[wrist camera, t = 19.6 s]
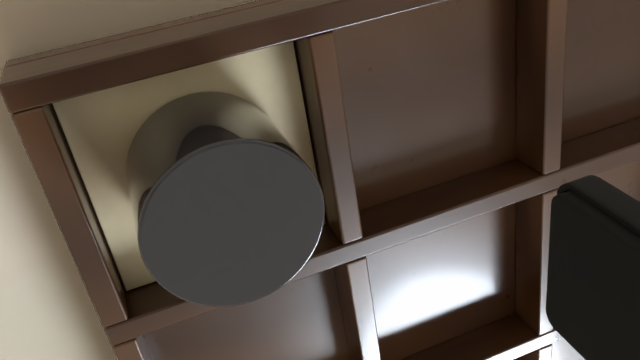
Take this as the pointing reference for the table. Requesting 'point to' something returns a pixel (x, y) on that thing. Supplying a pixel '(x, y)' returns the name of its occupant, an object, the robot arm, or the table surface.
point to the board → (354, 166)
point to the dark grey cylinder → (221, 200)
